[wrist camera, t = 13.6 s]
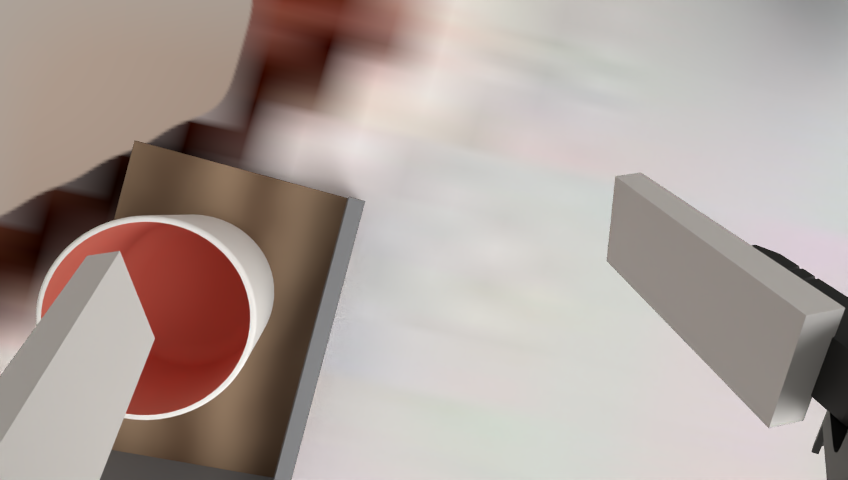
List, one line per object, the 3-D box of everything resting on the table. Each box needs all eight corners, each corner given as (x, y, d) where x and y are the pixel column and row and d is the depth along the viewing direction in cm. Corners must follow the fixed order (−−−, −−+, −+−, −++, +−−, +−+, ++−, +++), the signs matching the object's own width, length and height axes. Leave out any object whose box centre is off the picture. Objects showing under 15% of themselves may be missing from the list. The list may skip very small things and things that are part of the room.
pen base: (360, 202, 39) (361, 202, 37) (285, 485, 39) (284, 494, 38) (141, 142, 36) (134, 140, 35) (61, 447, 36) (52, 455, 35)
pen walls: (361, 202, 37) (365, 201, 33) (284, 494, 38) (278, 527, 34) (134, 140, 35) (109, 131, 31) (52, 455, 35) (16, 486, 31)
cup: (281, 356, 37) (263, 408, 27) (124, 371, 35) (44, 433, 26) (271, 210, 36) (248, 210, 27) (110, 218, 35) (23, 221, 25)
